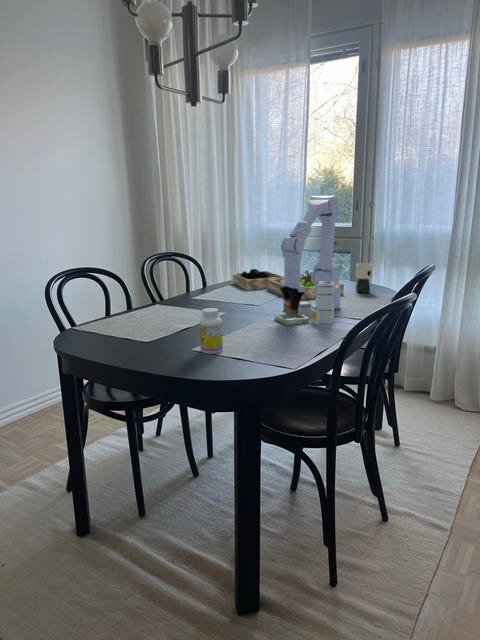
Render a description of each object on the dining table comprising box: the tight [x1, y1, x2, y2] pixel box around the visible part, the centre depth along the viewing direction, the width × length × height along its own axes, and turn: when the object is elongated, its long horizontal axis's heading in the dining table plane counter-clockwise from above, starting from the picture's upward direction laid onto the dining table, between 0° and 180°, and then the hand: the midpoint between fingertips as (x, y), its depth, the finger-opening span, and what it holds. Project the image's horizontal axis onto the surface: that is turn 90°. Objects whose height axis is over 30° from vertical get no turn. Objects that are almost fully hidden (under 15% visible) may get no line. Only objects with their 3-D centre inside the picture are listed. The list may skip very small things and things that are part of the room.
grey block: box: [299, 300, 312, 317], centre depth 180 cm, size 4×4×5 cm
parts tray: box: [274, 313, 310, 327], centre depth 173 cm, size 9×9×2 cm
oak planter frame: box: [267, 274, 345, 301], centre depth 221 cm, size 26×26×5 cm
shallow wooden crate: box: [232, 270, 284, 291], centre depth 240 cm, size 20×20×5 cm
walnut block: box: [283, 298, 299, 315], centre depth 172 cm, size 4×4×5 cm
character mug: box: [355, 262, 373, 293], centre depth 218 cm, size 11×7×13 cm, turn 153°
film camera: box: [241, 268, 270, 280], centre depth 237 cm, size 15×10×9 cm, turn 69°
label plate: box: [309, 307, 320, 326], centre depth 169 cm, size 1×5×5 cm, turn 23°
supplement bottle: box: [199, 307, 224, 355], centre depth 141 cm, size 7×7×13 cm
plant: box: [300, 269, 315, 288], centre depth 219 cm, size 20×20×11 cm
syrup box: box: [317, 281, 335, 325], centre depth 170 cm, size 6×6×14 cm
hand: (291, 308), depth 172 cm, fingers closed on walnut block, 4 cm apart
